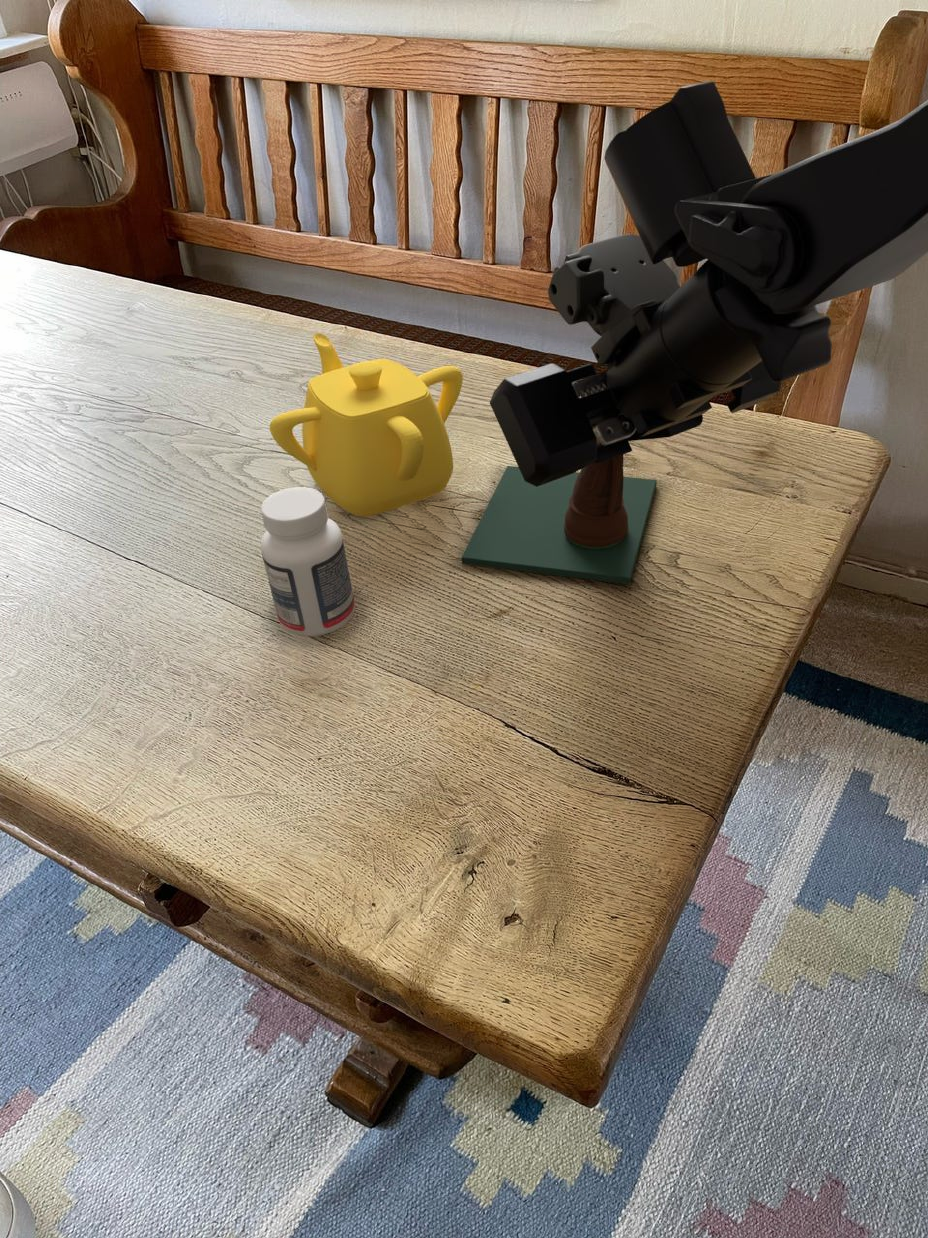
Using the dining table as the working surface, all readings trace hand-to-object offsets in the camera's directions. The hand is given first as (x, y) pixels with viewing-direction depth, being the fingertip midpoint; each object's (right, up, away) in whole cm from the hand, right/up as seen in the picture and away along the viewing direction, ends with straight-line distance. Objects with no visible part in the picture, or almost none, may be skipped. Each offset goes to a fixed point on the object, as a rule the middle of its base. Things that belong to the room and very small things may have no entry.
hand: (584, 440), depth 66 cm
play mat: (-1, -5, +6) cm, 8 cm away
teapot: (-15, -1, +12) cm, 20 cm away
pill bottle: (-18, -12, -1) cm, 22 cm away
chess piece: (+1, -6, +3) cm, 7 cm away
